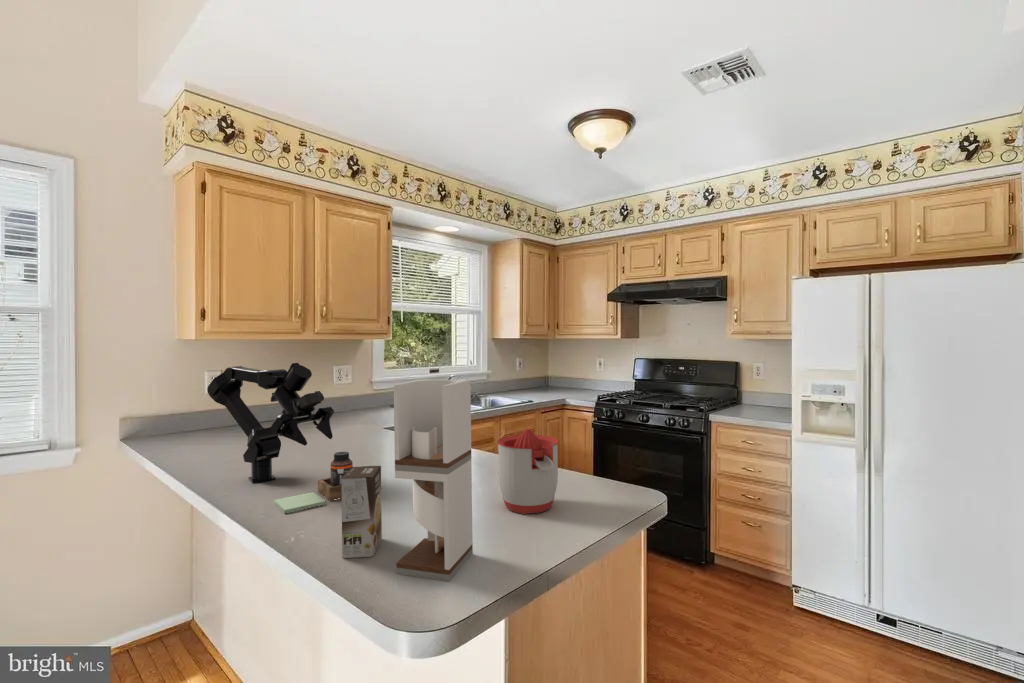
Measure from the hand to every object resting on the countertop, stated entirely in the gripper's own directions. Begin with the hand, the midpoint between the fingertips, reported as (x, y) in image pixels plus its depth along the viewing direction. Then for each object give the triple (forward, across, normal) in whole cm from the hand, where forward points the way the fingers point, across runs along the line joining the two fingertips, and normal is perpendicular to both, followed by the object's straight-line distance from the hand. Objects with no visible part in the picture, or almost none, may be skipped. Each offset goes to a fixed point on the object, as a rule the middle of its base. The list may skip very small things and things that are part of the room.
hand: (319, 441), depth 141 cm
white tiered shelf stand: (+51, -24, -29) cm, 64 cm away
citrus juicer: (+54, +12, -32) cm, 64 cm away
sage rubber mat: (+13, -11, +7) cm, 19 cm away
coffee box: (+38, -25, -17) cm, 49 cm away
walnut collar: (+16, 0, +5) cm, 16 cm away
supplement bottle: (+16, 0, +5) cm, 16 cm away
